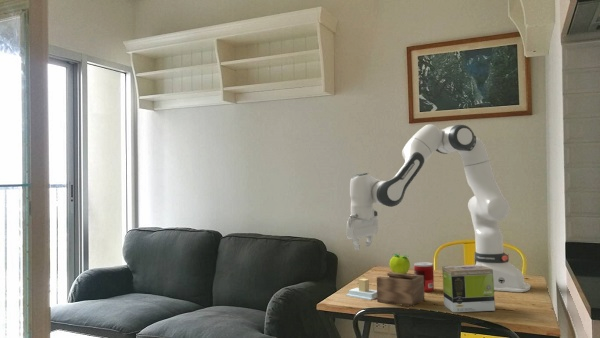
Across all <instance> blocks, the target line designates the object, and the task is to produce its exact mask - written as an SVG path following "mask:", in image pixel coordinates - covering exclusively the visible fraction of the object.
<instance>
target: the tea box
mask: <svg viewBox="0 0 600 338" xmlns="http://www.w3.org/2000/svg"><path fill="white" fill-rule="evenodd" d="M441 269H442V288H443V290H442V291H443V303H444V304H443V305H444V307H446V308H447V309H448V310H449V309H450V312H452V313H466V312H467V313H472V312H491V311H492V312H496V300H495V290H494V281H493V269H490V268H488V267H485V266H483V265H475V264H465V265H464V264H463V265H450V266H449V265H447V266H444V265H443V266H442V268H441Z"/></svg>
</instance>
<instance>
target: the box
mask: <svg viewBox="0 0 600 338" xmlns="http://www.w3.org/2000/svg"><path fill="white" fill-rule="evenodd" d="M376 291H377V298H376V299H377V300H376V302H377V303H383V304H391V305H396V304H402V305H401V306H403V305H409V306H408V307H410V306H412V307H414V306H416V305H418V304H420V303H421V302H423V301H425V292H424V276H422V275H415V274H411V273H406V274H403V273H394V272H393V271H391V272H388V273H387V277H386V276H377V277H376ZM419 302H420V303H419ZM417 303H418V304H417ZM415 304H416V305H415ZM413 305H414V306H413Z"/></svg>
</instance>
